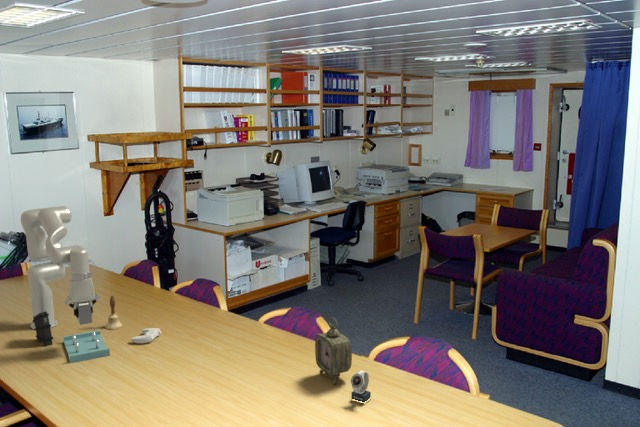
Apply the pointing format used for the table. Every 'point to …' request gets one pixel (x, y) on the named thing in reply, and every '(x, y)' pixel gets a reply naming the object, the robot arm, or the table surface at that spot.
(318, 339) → the tabletop clock
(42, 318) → the black stepped block
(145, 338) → the game controller
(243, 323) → the table surface
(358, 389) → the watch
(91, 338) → the pin tray
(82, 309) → the block
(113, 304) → the hand bell
